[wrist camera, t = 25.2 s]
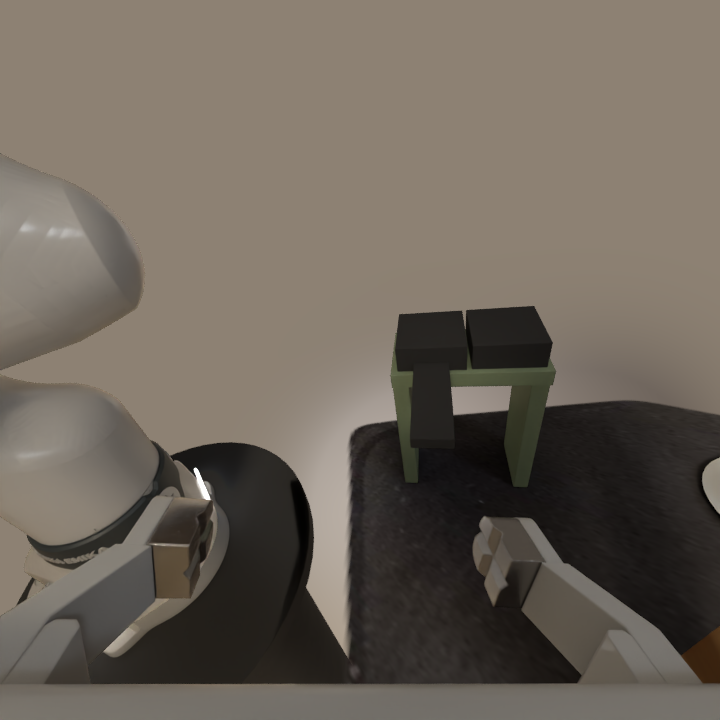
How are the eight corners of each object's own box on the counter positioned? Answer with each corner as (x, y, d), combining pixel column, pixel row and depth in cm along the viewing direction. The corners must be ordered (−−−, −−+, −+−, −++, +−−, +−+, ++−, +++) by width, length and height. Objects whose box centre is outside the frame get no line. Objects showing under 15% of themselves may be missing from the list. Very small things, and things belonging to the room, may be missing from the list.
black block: (471, 369, 30) (472, 345, 28) (465, 331, 35) (466, 309, 33) (547, 367, 29) (553, 342, 27) (530, 328, 33) (534, 305, 32)
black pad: (389, 447, 25) (385, 423, 23) (401, 335, 36) (399, 314, 34) (478, 449, 23) (480, 424, 22) (461, 332, 35) (461, 310, 33)
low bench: (405, 486, 41) (390, 375, 31) (407, 439, 46) (395, 332, 36) (528, 491, 38) (556, 371, 28) (515, 441, 44) (534, 325, 34)
